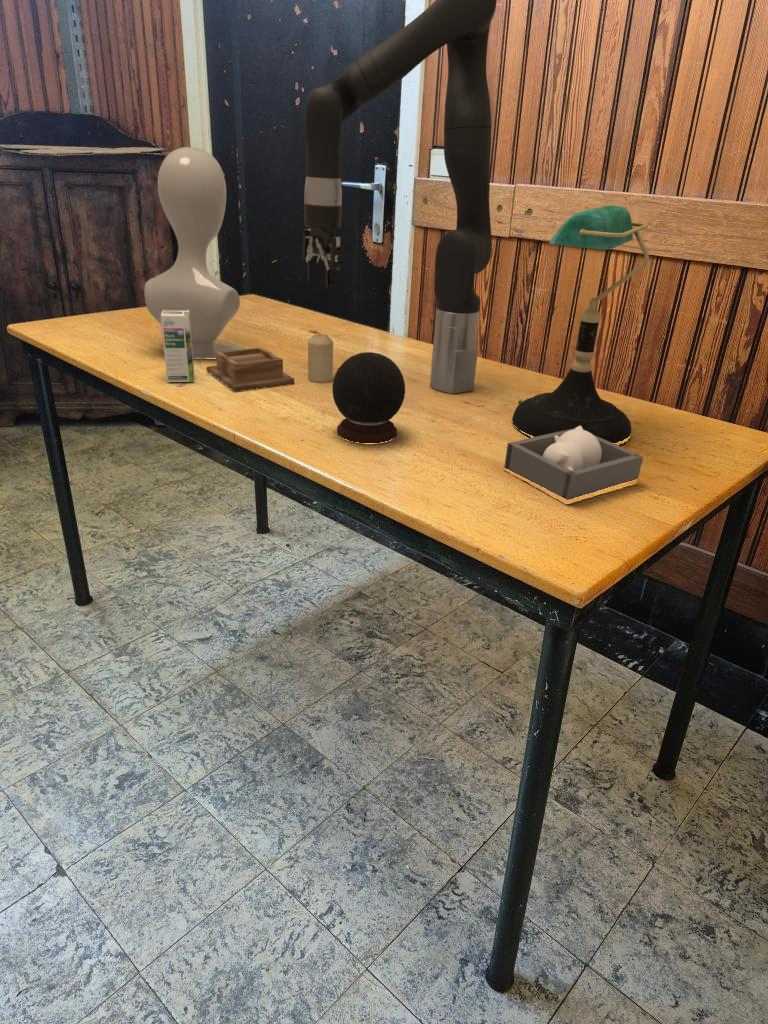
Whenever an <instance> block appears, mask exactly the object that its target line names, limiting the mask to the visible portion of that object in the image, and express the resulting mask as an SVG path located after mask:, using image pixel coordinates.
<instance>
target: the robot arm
mask: <svg viewBox="0 0 768 1024" xmlns="http://www.w3.org/2000/svg"><path fill="white" fill-rule="evenodd" d="M497 1H498V0H435V1H433V2H432V4H430V6H428V7H427V8H425V10H424V11H423V12H421V13H420V14H419V15H418V16H417V17H416V18H414V19H413V20H412V21H411V22H409V23H408V24H407V25H405V26H404V27H403V28H401V29H400V30H398V31H397V32H396V33H394V34H393V35H391V36H390V37H388V38H387V39H385V40H384V41H383V42H381V43H379V44H378V45H376V46H375V47H374V48H372V49H370V50H369V51H367V52H366V53H365V54H364V55H362V56H360V57H359V58H358V59H356V61H354V62H353V63H351V64H350V65H349V66H348V67H347V68H346V69H345V71H344V72H343V73H342V74H340V75H339V76H338V77H336V78H334V79H333V80H332V81H330V82H329V83H327V84H325V85H324V86H318V87H316V88H314V89H313V90H312V91H310V93H309V94H308V95H307V97H306V100H305V104H304V123H305V136H306V137H305V138H306V152H305V153H306V156H305V184H304V208H303V210H304V213H303V214H304V215H303V216H304V217H303V218H304V220H303V221H304V226H305V227H307V228H304V229H302V244H301V245H302V248H301V249H302V250H301V254H302V255H301V256H302V258H303V259H305V262H306V264H307V281H308V282H318V281H319V263H318V262H319V260H320V259H321V260H322V261H323V262H324V265H325V269H326V270H325V289H326V288H327V289H328V290H333V289H336V288H337V286H338V285H337V284H338V281H337V280H338V277H337V276H338V271H339V270H340V269H342V268H344V237H343V236H336V232H335V231H336V229H340V228H341V226H342V205H343V203H342V202H343V201H342V200H343V199H342V198H343V189H342V151H341V134H342V123H343V122H344V121H345V120H347V119H348V118H349V117H351V116H352V115H353V114H354V113H355V112H357V111H358V110H359V109H360V108H361V107H363V106H364V105H366V104H368V103H371V102H372V101H374V100H375V99H377V98H378V97H379V96H381V95H382V94H384V93H385V92H387V91H389V90H390V88H393V86H395V85H396V84H398V83H399V82H400V81H401V80H402V79H404V78H405V77H406V76H407V75H408V74H409V73H411V72H412V71H413V70H414V69H415V68H416V67H417V66H419V64H421V63H422V62H423V61H424V60H425V59H427V58H428V57H429V56H431V55H432V54H433V53H434V52H437V51H438V50H439V49H441V48H442V47H444V46H445V45H446V53H447V84H446V91H445V93H446V94H445V104H444V118H443V156H444V162H445V166H446V167H445V168H446V170H447V175H448V177H449V180H450V183H451V187H452V190H453V193H454V197H455V203H456V229H452V230H449V231H448V232H445V234H444V235H442V237H440V240H439V241H438V244H437V245H436V246H437V247H436V251H435V259H434V260H435V261H434V287H433V289H434V296H435V299H436V309H435V321H434V332H433V333H434V334H433V343H432V355H431V356H432V357H431V367H430V370H431V371H430V379H429V380H430V382H429V387H431V388H432V389H434V390H436V391H440V392H444V393H449V394H452V395H453V394H460V393H466V392H472V391H471V390H473V391H474V387H475V379H476V370H477V360H478V351H479V349H478V348H477V347H476V345H477V344H476V343H477V334H478V324H479V318H480V317H479V316H480V307H481V298H480V296H479V295H478V294H476V291H475V275H477V274H479V273H481V272H483V271H484V270H485V269H486V268H487V267H488V265H489V263H490V261H491V258H492V253H493V250H492V249H493V242H492V241H493V239H492V226H491V225H492V224H491V212H490V211H491V209H490V208H491V207H490V189H491V188H490V186H491V184H490V183H491V182H490V180H491V152H492V151H491V148H492V111H491V110H492V109H491V99H490V91H489V86H488V79H487V77H488V76H487V56H488V45H489V37H490V36H489V35H490V29H491V28H490V27H491V22H492V20H493V18H494V15H495V13H496V8H497Z"/></svg>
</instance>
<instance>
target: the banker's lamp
mask: <svg viewBox="0 0 768 1024" xmlns="http://www.w3.org/2000/svg"><path fill="white" fill-rule="evenodd" d="M633 227H634V228H633ZM648 227H649V225H648V224H647V223H645V222H644V223H643V222H635V221H632V217H631V214H630V211H629V210H628V209H627V208H625V207H623V206H620V205H614V204H613V205H611V204H610V205H604V206H600V207H599V206H598V207H595V208H590V209H585V210H582V211H579V212H576V213H574V214H573V215H571V216H570V217H569V218H567V219H566V220H565V221H564V223H563V224H562V225H561V226H560V227H558V228H559V229H558V230H557V231H556V232H555V234H554V235H553V236H552V237H551V239H550V240H549V242H548V244H551V245H554V246H556V245H557V246H565V247H574V248H584V249H594V250H605V251H606V250H612V249H615V248H617V247H620V246H622V245H624V244H626V243H629V242H631V241H632V240H634V239H633V237H634V236H635V238H636V240H637V242H638V245H639V247H640V250H641V251H642V254H643V260H642V262H641V263H639V265H637V266H636V267H635V268H634V269H632V270H631V271H630V272H628V273H627V274H626V275H624V276H623V277H622V278H621V279H619V280H618V281H617V282H615V283H614V284H612V285H611V286H610V287H608V288H607V289H605V290H604V291H603V292H602V293H600V294H599V295H598V296H596V297H592V298H591V299H590V300H589V304H588V309H586V310H583V311H582V313H581V314H580V317H579V318H580V323H579V329H578V334H577V335H578V336H577V340H576V346H575V348H574V354H573V355H574V358H576V359H575V360H573V362H572V364H571V367H570V368H569V371H568V373H566V376H565V377H564V378H563V379H562V381H561V382H560V384H559V385H558V386H557V387H556V388H555V389H554V390H553V391H551V392H543V393H539V394H536V395H534V396H532V397H529V398H527V399H525V400H521V399H520V400H518V402H517V403H518V405H517V406H516V407H515V410H514V412H513V415H512V418H511V422H512V421H513V423H512V425H513V424H514V425H515V426H516V427H517V428H518V429H519V430H521V431H523V432H525V433H527V434H529V435H532V436H534V437H537V436H542V435H546V434H551V433H555V432H560V431H564V430H569V429H573V428H576V427H578V426H581V427H582V428H583V430H585V431H588V432H590V433H591V434H593V435H595V436H597V437H600V438H602V439H604V440H606V441H609V442H611V443H617V442H619V441H623V440H624V439H626V438H628V437H629V436H630V434H631V435H632V424H631V423H632V422H631V420H630V418H629V417H628V415H626V414H625V412H623V411H622V410H621V409H620V408H618V407H617V406H615V405H614V404H613V403H611V402H609V401H607V400H604V399H602V398H601V396H600V395H599V393H598V391H597V389H596V386H595V382H594V376H593V372H592V363H591V362H590V360H592V359H593V358H594V355H595V347H596V346H595V345H596V342H597V341H596V340H597V337H598V336H597V335H598V332H599V331H598V330H599V326H600V325H599V324H600V323H601V320H602V317H601V316H602V315H601V313H600V312H599V311H598V310H597V307H598V303H599V301H601V300H602V299H603V298H605V297H607V295H609V294H611V293H612V292H613V291H614V290H616V289H617V288H618V287H620V286H621V285H622V284H624V283H625V282H627V280H629V279H631V278H632V277H634V275H636V274H637V273H638V272H640V271H641V270H642V269H643V268H644V267H646V265H647V264H648V262H649V259H650V255H649V251H648V249H647V246H646V245H645V242H644V240H643V237H642V235H641V233H640V231H642V230H644V229H647V228H648ZM514 425H513V426H514ZM519 430H518V431H519Z"/></svg>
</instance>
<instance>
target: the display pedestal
mask: <svg viewBox="0 0 768 1024" xmlns="http://www.w3.org/2000/svg"><path fill="white" fill-rule="evenodd" d="M215 361H216V365H209V366H206V372H207V371H208V372H209V373H211V374H212V375H213V376H215V377H216V378H218V379H219V380H220V381H222V382H223V383H224V384H225V385H227V386H228V387H229V388H231V389H232V390H233V391H240V392H242V391H241V390H247V391H250V390H249V389H255V390H257V389H256V388H262V389H264V388H263V387H269V388H272V387H271V386H277V387H280V386H279V385H284V386H288V385H287V384H291V385H295V378H294V377H292V376H290V375H289V374H287V373H286V372H284V359H283V358H282V357H279V356H278V355H276V354H275V353H272V352H271V351H269V350H267V349H265V348H264V347H262V346H261V347H252V348H242V349H241V350H232V351H222V352H216V359H215ZM208 372H207V373H208ZM209 373H208V374H209ZM212 375H211V376H212ZM213 376H212V377H213ZM216 378H215V379H216ZM220 381H219V382H220ZM224 384H223V385H224ZM225 385H224V386H225ZM227 386H226V387H227ZM228 387H227V388H228ZM229 388H228V389H229ZM231 389H230V390H231ZM232 390H231V391H232ZM233 391H232V392H233Z"/></svg>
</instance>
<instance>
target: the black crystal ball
mask: <svg viewBox="0 0 768 1024" xmlns="http://www.w3.org/2000/svg"><path fill="white" fill-rule="evenodd" d="M331 390H332V397H333V401H334V404H335V405H336V406H335V407H336V408H337V409H338V411H339V412H340V413H341V415H342V416H343V417H344V419H342V420H341V421H340V423H339V424H338V425H337V427H336V434H337V433H338V434H337V436H338V435H339V436H341V437H342V438H344V439H347V440H349V441H353V442H359V443H380V442H385V441H389V440H391V439H393V438H395V437H396V436H398V429H397V427H396V426H395V424H394V423H393V422H392V421H391V420H392V419H393V417H394V416H395V415H396V414H397V413H399V411H400V409H401V408H402V405H403V403H404V400H405V396H406V395H405V394H406V383H405V379H404V375H403V373H402V371H401V370H400V368H399V367H398V365H397V363H395V362H394V361H393V360H392V359H391V358H389V357H388V356H386V355H383V354H381V353H376V352H372V351H371V352H370V351H369V352H367V351H366V352H365V351H364V352H359V353H357V354H355V355H351V356H350V357H348V358H347V359H345V360H344V361H343V363H341V365H340V366H339V367H338V368H337V371H336V373H335V374H334V376H333V379H332V388H331ZM339 436H338V437H339ZM342 438H341V439H342ZM396 438H397V437H396ZM396 438H395V439H396Z"/></svg>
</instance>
